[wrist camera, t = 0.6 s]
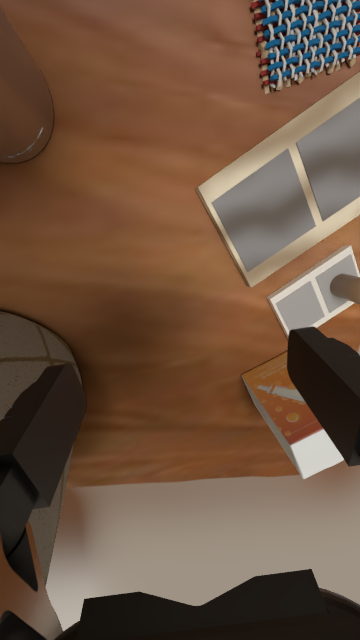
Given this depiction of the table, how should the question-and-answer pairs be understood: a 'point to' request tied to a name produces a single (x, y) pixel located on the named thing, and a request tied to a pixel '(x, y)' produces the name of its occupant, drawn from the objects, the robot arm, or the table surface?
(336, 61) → the woven mat
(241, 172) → the board
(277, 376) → the small box
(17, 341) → the planter
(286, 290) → the plate
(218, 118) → the table surface
